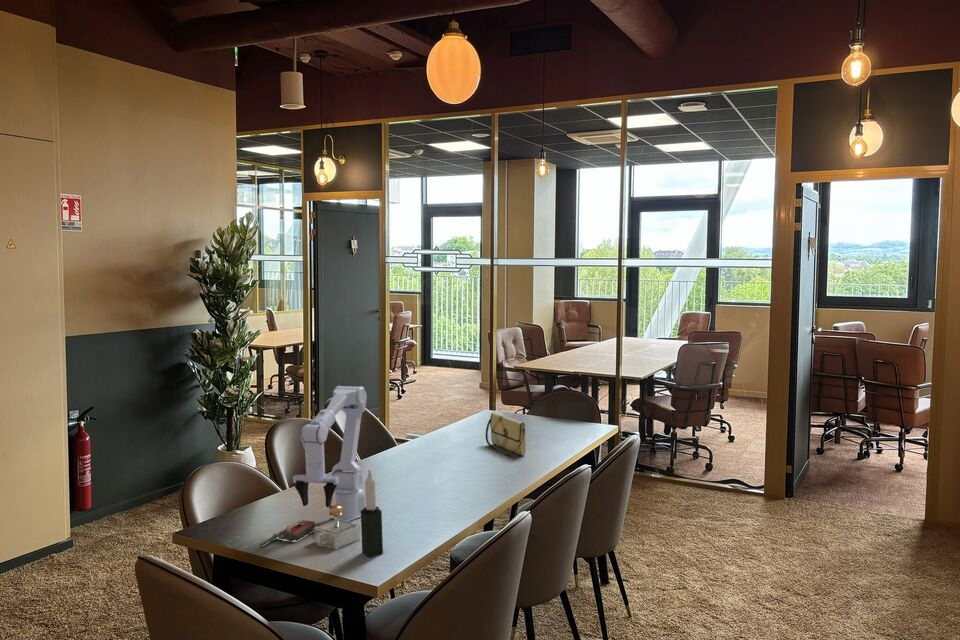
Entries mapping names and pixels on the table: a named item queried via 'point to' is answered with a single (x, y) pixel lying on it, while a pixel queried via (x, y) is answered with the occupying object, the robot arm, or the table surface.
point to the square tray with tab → (336, 536)
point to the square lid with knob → (336, 521)
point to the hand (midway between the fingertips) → (317, 505)
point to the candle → (371, 521)
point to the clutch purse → (507, 433)
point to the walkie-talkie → (293, 531)
